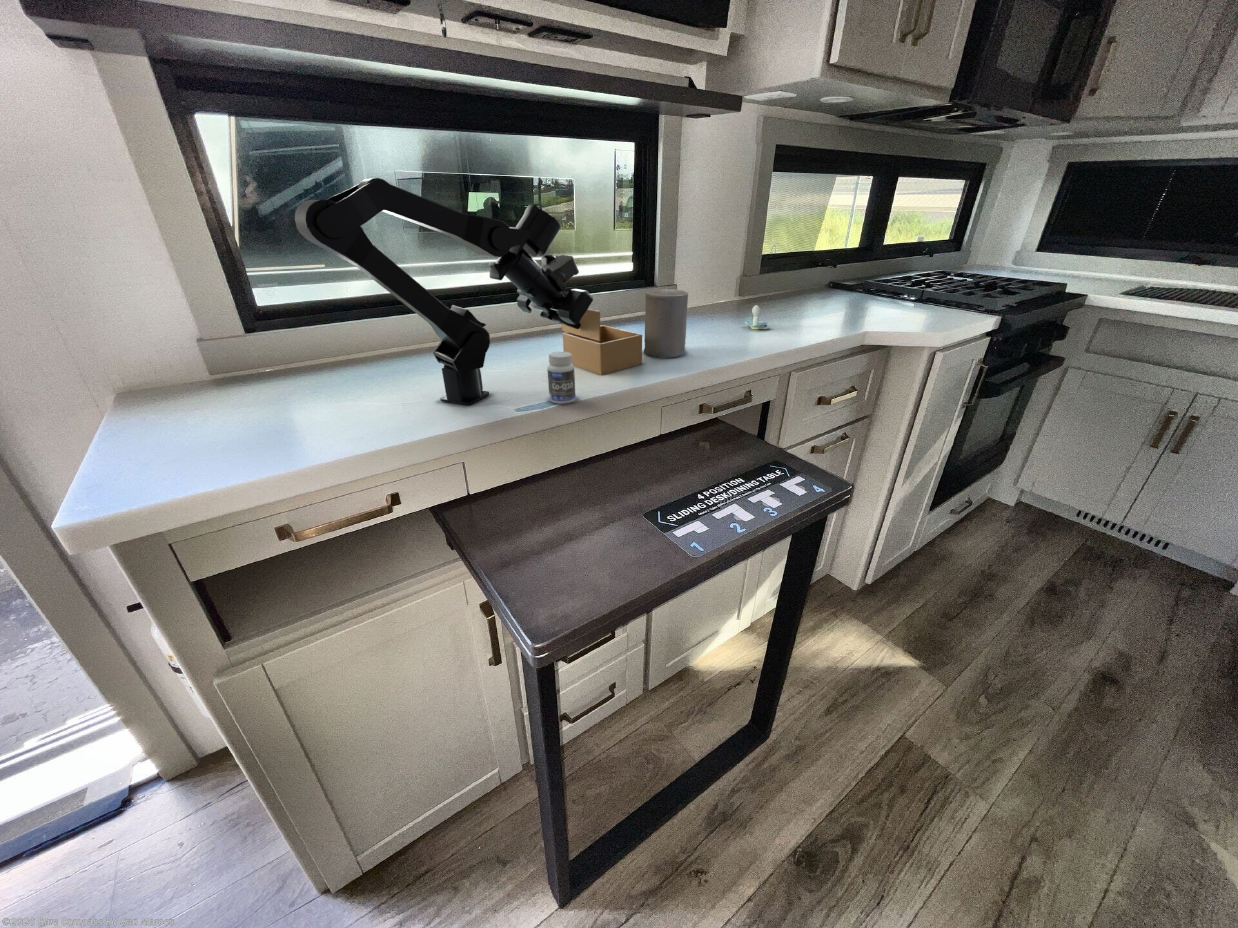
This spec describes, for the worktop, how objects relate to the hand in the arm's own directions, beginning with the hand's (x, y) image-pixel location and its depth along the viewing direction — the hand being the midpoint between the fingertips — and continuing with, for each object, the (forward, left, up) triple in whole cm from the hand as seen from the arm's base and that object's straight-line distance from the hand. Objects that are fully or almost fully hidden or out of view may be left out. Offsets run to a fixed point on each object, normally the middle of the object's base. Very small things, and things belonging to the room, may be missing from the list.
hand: (578, 327), depth 104 cm
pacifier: (+53, -29, -9) cm, 61 cm away
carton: (+6, -3, -9) cm, 11 cm away
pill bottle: (-18, -6, -9) cm, 21 cm away
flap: (+1, 0, +1) cm, 1 cm away
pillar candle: (+19, -13, -9) cm, 24 cm away
